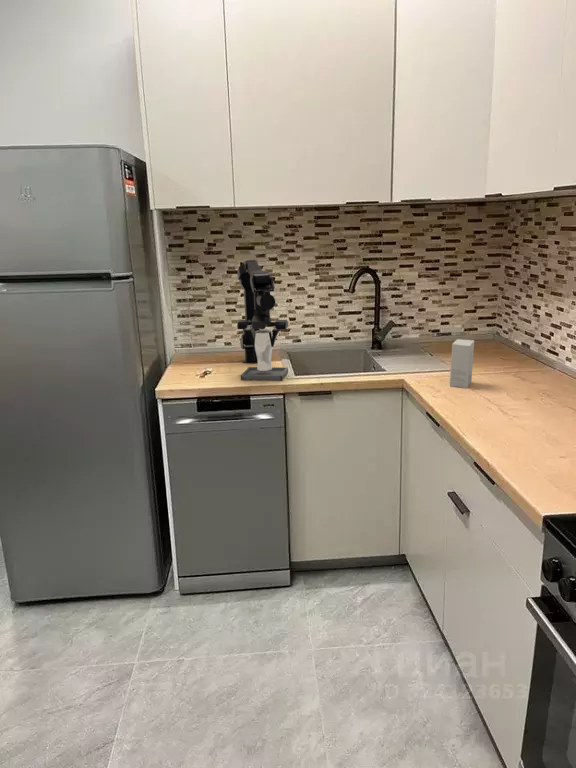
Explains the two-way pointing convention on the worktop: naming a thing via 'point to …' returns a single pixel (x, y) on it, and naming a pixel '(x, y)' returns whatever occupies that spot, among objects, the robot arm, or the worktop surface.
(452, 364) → the skincare box
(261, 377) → the drip tray
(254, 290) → the robot arm
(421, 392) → the worktop surface
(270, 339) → the beer glass
